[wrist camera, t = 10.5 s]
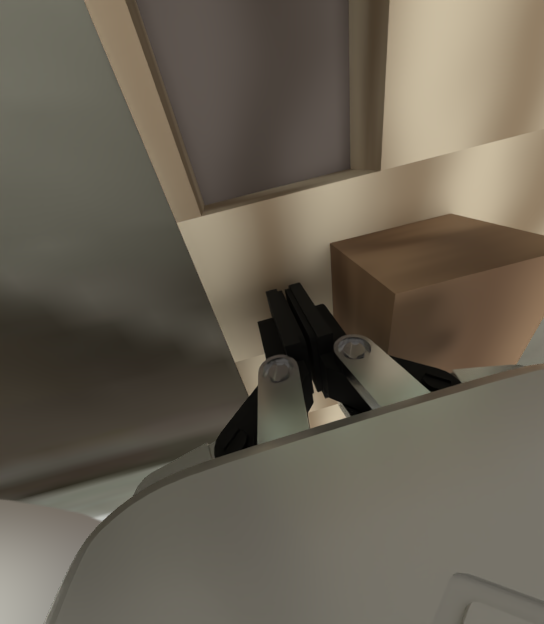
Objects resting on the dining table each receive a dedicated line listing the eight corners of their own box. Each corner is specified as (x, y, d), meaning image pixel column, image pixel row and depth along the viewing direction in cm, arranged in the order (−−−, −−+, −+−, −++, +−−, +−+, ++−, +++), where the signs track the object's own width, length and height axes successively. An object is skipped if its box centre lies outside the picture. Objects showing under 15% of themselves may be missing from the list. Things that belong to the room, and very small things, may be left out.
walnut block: (334, 339, 14) (380, 413, 10) (329, 243, 11) (395, 294, 7) (427, 315, 15) (509, 376, 10) (451, 213, 11) (584, 245, 7)
